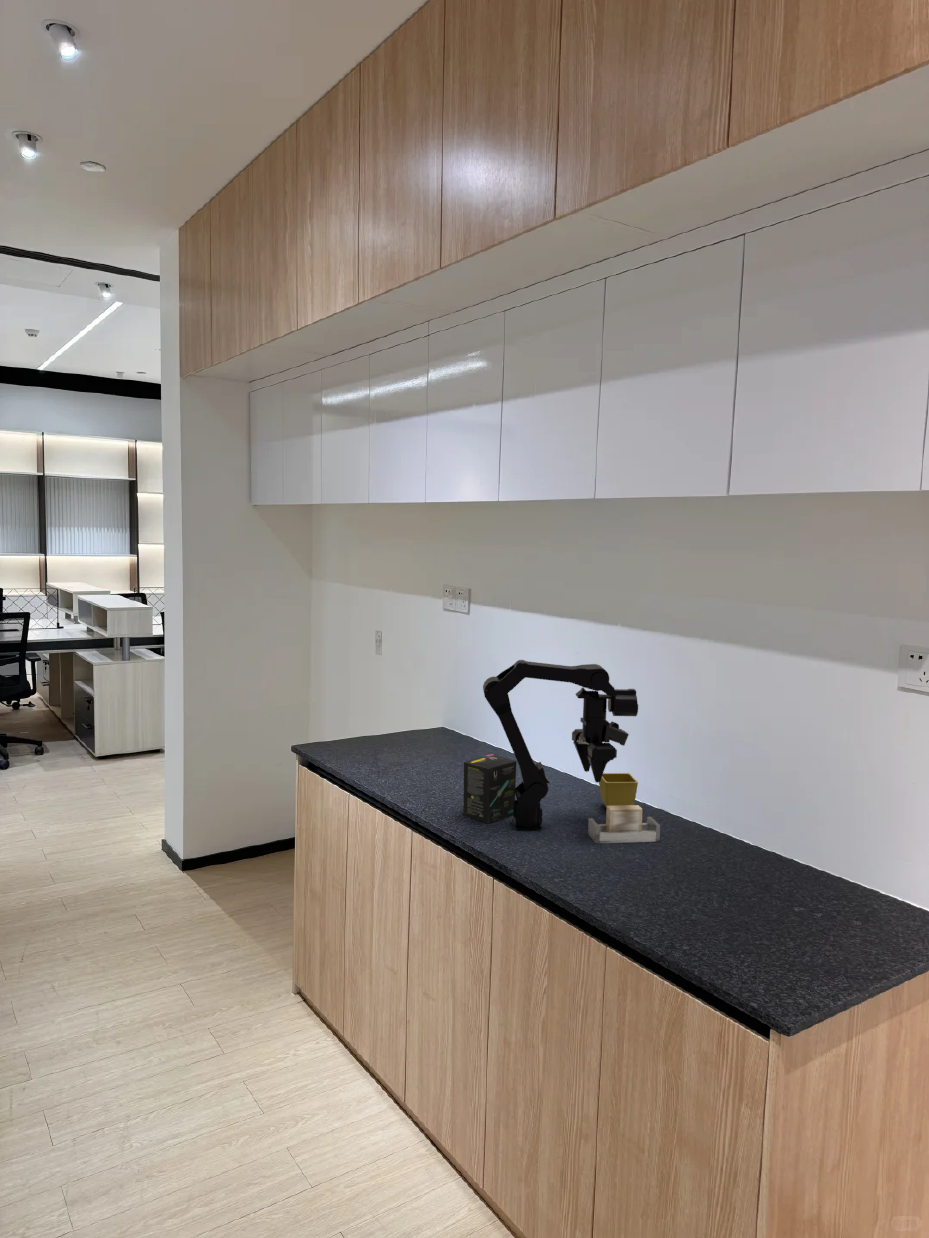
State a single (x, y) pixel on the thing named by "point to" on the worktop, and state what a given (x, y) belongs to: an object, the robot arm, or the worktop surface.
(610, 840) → the bottom track
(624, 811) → the door panel
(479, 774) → the tampon box
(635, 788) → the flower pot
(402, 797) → the worktop surface
